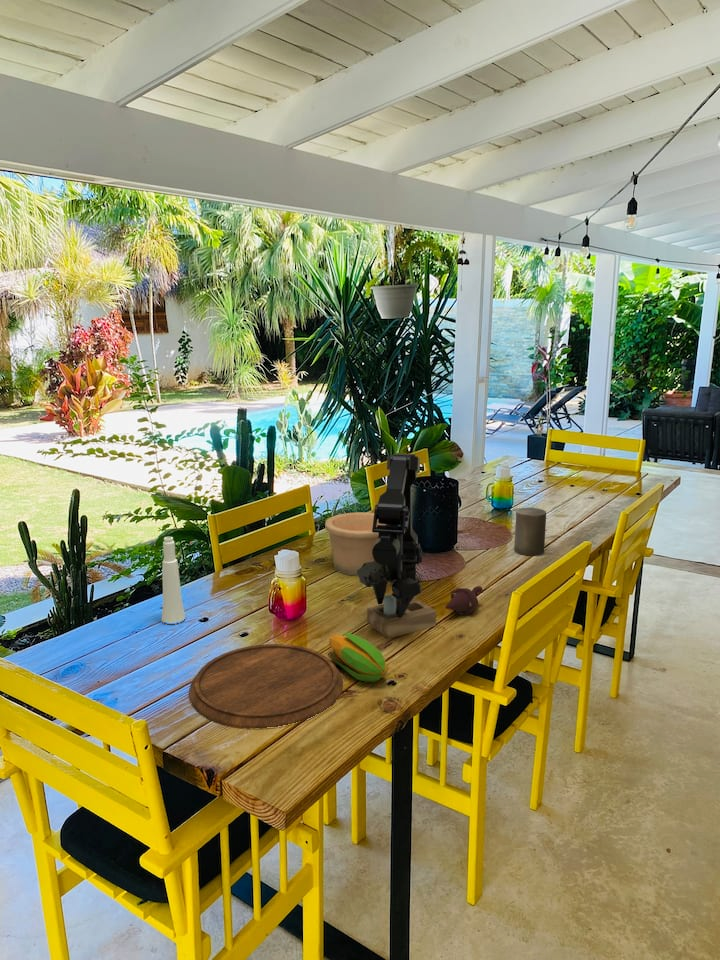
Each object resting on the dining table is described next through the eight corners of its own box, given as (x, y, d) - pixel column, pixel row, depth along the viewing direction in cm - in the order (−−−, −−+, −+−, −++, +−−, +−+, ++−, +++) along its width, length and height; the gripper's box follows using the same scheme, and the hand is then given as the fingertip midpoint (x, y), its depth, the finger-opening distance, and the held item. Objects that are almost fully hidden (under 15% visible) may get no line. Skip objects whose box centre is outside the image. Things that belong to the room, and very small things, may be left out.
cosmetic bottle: (169, 627, 177) (164, 543, 172) (156, 620, 181) (151, 537, 176) (190, 619, 182) (185, 537, 176) (177, 613, 186) (172, 532, 180)
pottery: (314, 574, 213) (314, 528, 209) (340, 551, 233) (340, 509, 230) (384, 583, 206) (384, 536, 203) (404, 559, 226) (405, 515, 223)
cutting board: (374, 684, 151) (374, 673, 151) (258, 752, 128) (257, 739, 127) (273, 639, 172) (273, 629, 171) (158, 690, 149) (157, 679, 148)
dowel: (391, 623, 179) (391, 594, 178) (397, 628, 177) (398, 598, 175) (381, 626, 178) (381, 596, 176) (387, 631, 175) (387, 600, 174)
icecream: (461, 602, 177) (494, 591, 188) (438, 588, 181) (472, 577, 192) (453, 626, 179) (486, 613, 190) (431, 611, 183) (464, 599, 194)
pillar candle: (547, 556, 229) (550, 511, 225) (516, 555, 229) (519, 510, 226) (540, 547, 238) (543, 503, 235) (511, 546, 238) (513, 503, 235)
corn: (369, 659, 145) (316, 624, 161) (366, 693, 147) (314, 656, 163) (397, 651, 150) (343, 618, 165) (394, 685, 151) (341, 649, 167)
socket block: (367, 622, 180) (367, 607, 179) (413, 611, 187) (413, 596, 186) (388, 638, 172) (388, 621, 171) (435, 625, 178) (436, 609, 177)
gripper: (342, 545, 177) (343, 603, 180) (382, 568, 161) (381, 632, 165) (381, 538, 182) (380, 595, 186) (423, 560, 166) (421, 621, 170)
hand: (389, 610), depth 176 cm, fingers open, 9 cm apart
